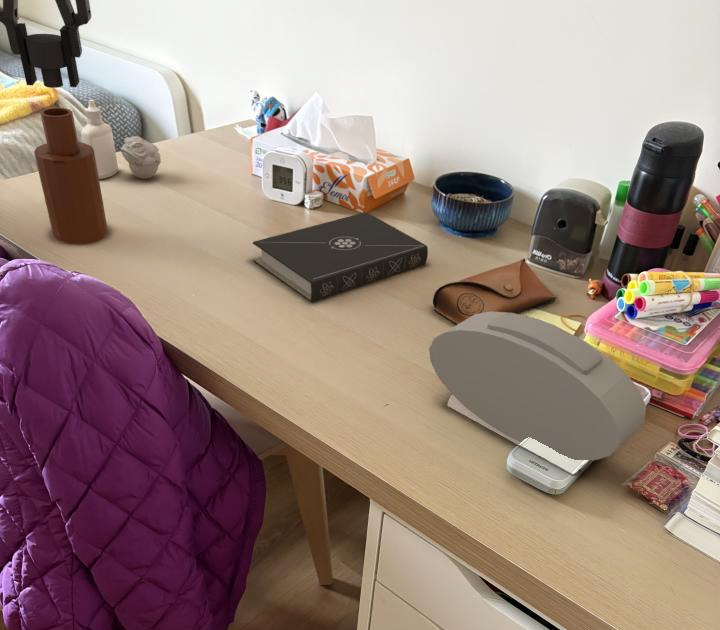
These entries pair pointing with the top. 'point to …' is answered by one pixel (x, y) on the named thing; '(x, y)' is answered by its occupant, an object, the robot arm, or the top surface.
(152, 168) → the frog figurine
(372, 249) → the book
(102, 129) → the eye dropper bottle
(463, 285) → the sunglasses case
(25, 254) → the top surface
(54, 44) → the bung
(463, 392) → the alarm clock
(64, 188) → the brown bottle
